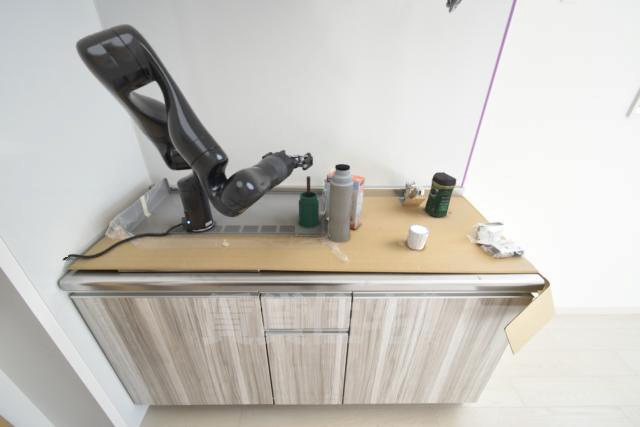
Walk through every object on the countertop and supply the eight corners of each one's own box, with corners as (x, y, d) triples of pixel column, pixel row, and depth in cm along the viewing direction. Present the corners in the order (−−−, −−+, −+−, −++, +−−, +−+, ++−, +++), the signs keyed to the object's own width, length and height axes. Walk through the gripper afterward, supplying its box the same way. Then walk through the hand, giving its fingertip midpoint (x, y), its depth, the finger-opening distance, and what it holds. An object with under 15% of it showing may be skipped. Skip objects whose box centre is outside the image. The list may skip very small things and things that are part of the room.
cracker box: (360, 223, 101) (365, 176, 91) (354, 230, 97) (359, 181, 87) (331, 214, 108) (333, 169, 98) (324, 220, 103) (326, 174, 93)
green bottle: (304, 229, 97) (303, 200, 90) (296, 220, 103) (295, 192, 96) (321, 225, 100) (322, 196, 94) (313, 216, 106) (313, 189, 100)
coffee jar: (449, 217, 107) (461, 178, 98) (432, 218, 106) (444, 178, 97) (437, 207, 116) (447, 170, 107) (421, 208, 114) (430, 171, 106)
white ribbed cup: (424, 242, 90) (429, 226, 87) (425, 252, 85) (430, 236, 81) (405, 238, 92) (409, 222, 89) (405, 248, 86) (408, 232, 83)
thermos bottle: (349, 231, 96) (355, 163, 82) (347, 243, 89) (354, 170, 75) (330, 229, 97) (332, 161, 84) (326, 240, 90) (329, 168, 77)
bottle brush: (306, 225, 99) (305, 179, 89) (302, 220, 102) (301, 175, 92) (315, 223, 100) (315, 177, 91) (311, 218, 103) (310, 174, 94)
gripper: (298, 158, 59) (318, 144, 73) (248, 153, 63) (275, 140, 77) (299, 186, 63) (317, 168, 77) (251, 180, 67) (277, 163, 80)
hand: (296, 154), depth 77 cm, fingers open, 8 cm apart
